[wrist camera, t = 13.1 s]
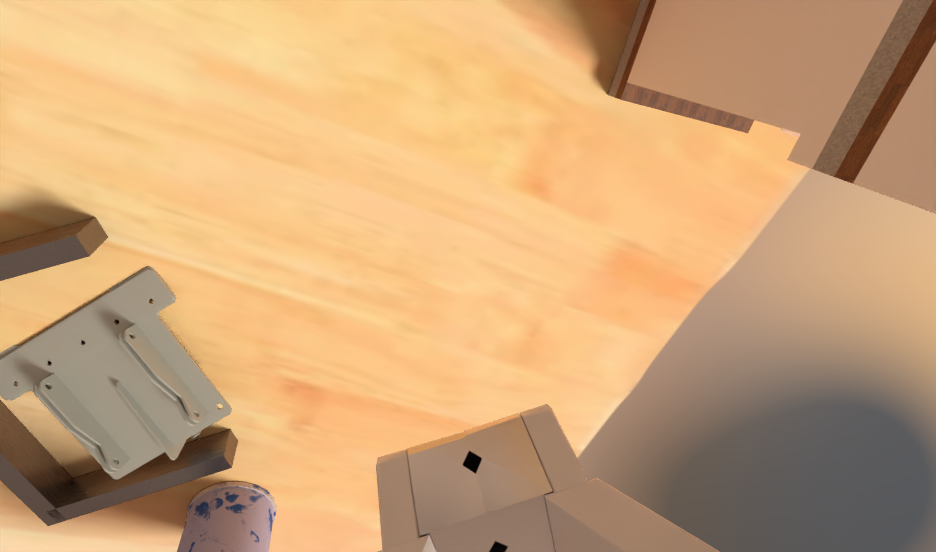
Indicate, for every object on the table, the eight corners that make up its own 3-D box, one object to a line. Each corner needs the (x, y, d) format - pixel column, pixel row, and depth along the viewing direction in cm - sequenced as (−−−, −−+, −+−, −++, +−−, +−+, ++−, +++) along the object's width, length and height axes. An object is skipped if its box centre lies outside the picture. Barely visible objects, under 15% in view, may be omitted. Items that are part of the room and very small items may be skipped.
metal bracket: (253, 419, 38) (87, 516, 39) (275, 384, 44) (130, 470, 45) (124, 256, 35) (-55, 367, 36) (167, 241, 40) (11, 337, 41)
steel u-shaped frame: (-141, 281, 33) (-181, 305, 31) (95, 217, 34) (75, 235, 32) (65, 495, 44) (47, 526, 42) (237, 441, 45) (231, 467, 43)
